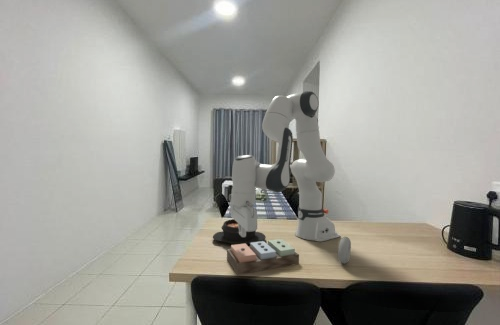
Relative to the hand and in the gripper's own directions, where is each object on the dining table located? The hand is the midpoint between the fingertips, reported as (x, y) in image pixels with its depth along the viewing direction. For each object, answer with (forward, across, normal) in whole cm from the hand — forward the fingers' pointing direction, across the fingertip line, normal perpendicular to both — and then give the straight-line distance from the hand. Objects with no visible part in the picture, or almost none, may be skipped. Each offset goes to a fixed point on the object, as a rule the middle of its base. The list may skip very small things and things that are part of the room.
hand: (242, 235), depth 90 cm
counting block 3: (+8, 0, -16) cm, 18 cm away
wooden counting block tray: (+11, 0, -8) cm, 14 cm away
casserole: (+11, +24, -7) cm, 27 cm away
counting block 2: (+9, 0, -8) cm, 12 cm away
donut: (+11, -11, -38) cm, 41 cm away
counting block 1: (+9, 0, 0) cm, 9 cm away
